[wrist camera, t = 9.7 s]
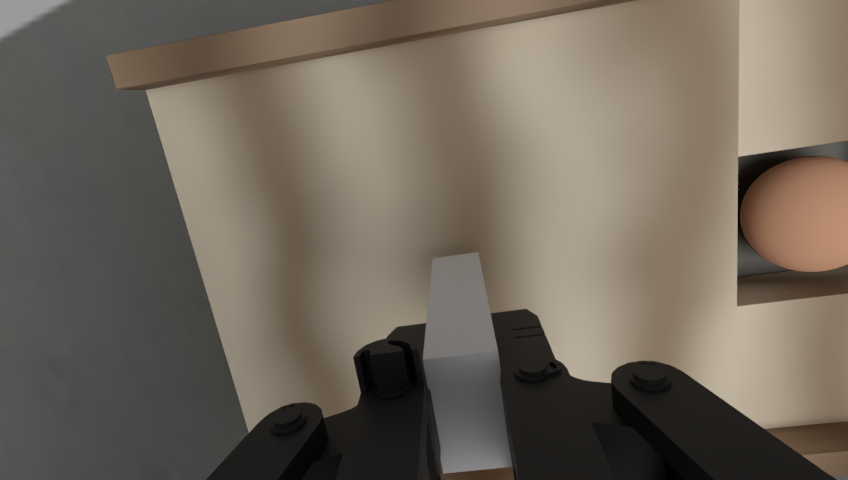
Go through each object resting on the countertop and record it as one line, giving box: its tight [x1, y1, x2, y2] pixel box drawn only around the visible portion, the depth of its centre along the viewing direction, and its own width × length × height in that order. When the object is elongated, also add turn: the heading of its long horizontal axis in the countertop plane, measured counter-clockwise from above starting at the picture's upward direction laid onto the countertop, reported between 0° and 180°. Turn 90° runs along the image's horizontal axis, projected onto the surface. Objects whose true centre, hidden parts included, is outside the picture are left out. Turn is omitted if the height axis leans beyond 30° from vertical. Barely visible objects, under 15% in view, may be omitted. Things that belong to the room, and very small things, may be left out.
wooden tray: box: [106, 0, 848, 480], centre depth 17 cm, size 31×18×5 cm, turn 99°
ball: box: [740, 156, 848, 272], centre depth 17 cm, size 4×4×4 cm
